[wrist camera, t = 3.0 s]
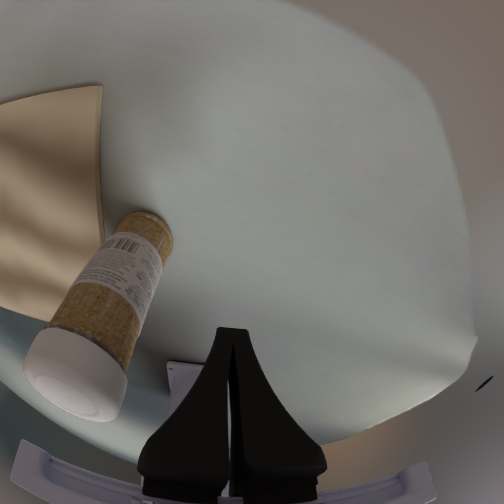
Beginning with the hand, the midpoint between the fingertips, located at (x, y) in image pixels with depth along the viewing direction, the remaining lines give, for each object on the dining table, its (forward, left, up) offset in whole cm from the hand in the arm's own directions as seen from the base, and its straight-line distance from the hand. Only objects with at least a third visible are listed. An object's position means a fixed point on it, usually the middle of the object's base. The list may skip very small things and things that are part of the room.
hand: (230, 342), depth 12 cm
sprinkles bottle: (0, +7, -9) cm, 11 cm away
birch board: (0, +19, -9) cm, 21 cm away
